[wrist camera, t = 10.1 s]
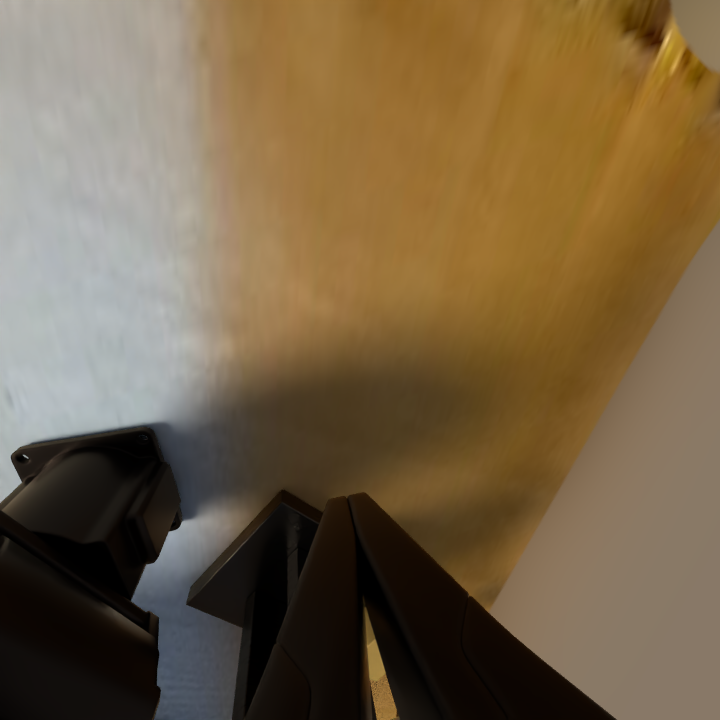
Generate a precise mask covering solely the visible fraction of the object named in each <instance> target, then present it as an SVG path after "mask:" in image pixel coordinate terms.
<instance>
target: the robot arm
mask: <svg viewBox="0 0 720 720" xmlns="http://www.w3.org/2000/svg"><path fill="white" fill-rule="evenodd" d="M140 435H144V436H146V437H147V438H148V439H147V440H144V439H142V438H141V437H140ZM23 455H26V456H27V457H28V458H29V459H27V458H25V457H24V456H23ZM11 461H12V463H13V465H14V467H15V469H16V471H17V473H18V475H19V477H20V479H21V481H22V483H21V484H20V485H19V486H18V487H17V488H16V489H15V490H14V491H13V492H12V493H11V494H10V495H9V496H7V497H6V498H5V499H4V500H3V501H2V502H1V503H0V720H154V717H155V714H156V711H157V708H158V705H159V702H160V694H161V689H160V687H159V686H157V668H158V660H159V650H158V632H159V617H158V616H156V615H155V614H153V613H152V612H151V611H147V612H145V611H144V610H142V609H141V608H140V607H138V606H137V605H135V604H134V603H132V602H131V599H132V597H133V595H134V592H135V590H136V588H137V585H138V583H139V581H140V578H141V576H142V574H143V571H144V569H145V567H146V564H151V563H154V562H155V561H156V560H157V558H158V557H159V555H160V552H161V550H162V547H163V545H164V542H165V540H166V537H167V535H168V532H169V531H173V530H176V529H178V528H179V527H180V525H181V522H182V520H183V519H182V514H181V511H180V508H179V505H180V502H181V498H180V495H179V492H178V489H177V486H176V483H175V480H174V477H173V473H172V470H171V467H170V465H169V464H168V463H167V462H165V461H164V459H163V456H162V453H161V450H160V447H159V443H158V440H157V437H156V434H155V432H154V431H153V430H152V429H151V428H148V427H139V428H132V429H126V430H120V431H114V432H107V433H101V434H95V435H89V436H82V437H76V438H70V439H64V440H57V441H51V442H45V443H39V444H32V445H26V446H22V447H20V448H19V449H17V450H16V451H15V452H14V453H13V454H12V455H11ZM173 520H174V521H175V522H173ZM363 596H364V599H363ZM364 601H365V605H366V609H367V612H368V616H369V619H370V623H371V626H372V629H373V633H374V636H375V639H376V643H377V646H378V649H379V652H380V656H381V659H382V662H383V666H384V669H385V672H386V676H387V679H388V682H389V685H390V689H391V692H392V695H393V699H394V702H395V705H396V709H397V712H398V715H399V718H400V720H616V719H615V718H614V717H613V716H612V715H610V714H609V713H608V712H607V711H605V710H604V709H603V708H602V707H600V706H599V705H598V704H597V703H595V702H594V701H593V700H592V699H590V698H589V697H588V696H587V695H585V694H584V693H583V692H582V691H580V690H579V689H578V688H576V687H575V686H574V685H573V684H572V683H570V682H569V681H568V680H567V679H565V678H564V677H563V676H562V675H560V674H559V673H558V672H557V671H556V670H554V669H553V668H552V667H551V666H549V665H548V664H547V663H546V662H544V661H543V660H542V659H541V658H539V657H538V656H537V655H536V654H535V653H533V652H532V651H531V650H530V649H529V648H527V647H526V646H525V645H524V644H523V643H521V642H520V641H519V640H518V639H517V638H516V637H514V636H513V635H512V634H511V633H510V632H509V631H508V630H507V629H505V628H504V627H503V626H502V625H501V624H500V623H499V622H498V621H497V620H496V619H495V618H494V617H493V616H491V615H490V614H489V613H488V612H487V611H486V610H485V609H484V608H483V607H482V606H481V605H480V604H479V603H478V602H477V601H476V600H475V599H474V598H473V597H472V596H469V594H468V592H467V591H466V590H465V589H464V588H462V587H461V586H460V585H459V584H458V583H457V582H456V581H455V580H454V579H453V578H452V577H451V576H450V575H449V574H448V573H447V572H446V571H445V570H444V569H443V568H442V567H441V566H440V565H439V564H438V563H437V562H436V561H435V560H434V559H433V558H432V557H431V556H430V555H429V554H428V553H427V552H426V551H425V550H424V549H423V548H422V547H421V546H420V545H419V544H417V543H416V542H415V541H414V540H413V539H412V538H411V537H410V536H409V535H408V534H407V533H406V532H405V531H404V530H403V529H402V528H401V527H400V526H399V525H398V524H397V523H396V522H395V521H394V520H393V519H392V518H391V517H390V516H389V515H388V514H387V513H386V512H385V511H384V510H383V509H382V508H381V507H380V506H379V505H378V504H377V503H376V502H375V501H374V500H372V499H371V498H370V497H369V496H368V495H367V494H366V493H364V492H362V493H357V494H352V495H349V496H348V499H347V497H345V496H342V497H336V498H331V499H329V500H328V502H327V505H326V508H325V510H324V513H323V516H322V518H321V521H320V524H319V526H318V529H317V532H316V534H315V537H314V540H313V542H312V545H311V548H310V551H309V553H308V556H307V559H306V561H305V564H304V567H303V569H302V572H301V575H300V577H299V580H298V583H297V585H296V588H295V591H294V593H293V596H292V599H291V602H290V604H289V607H288V610H287V612H286V615H285V618H284V620H283V623H282V626H281V628H280V631H279V634H278V636H277V639H276V643H277V644H275V645H274V647H273V649H272V652H271V655H270V657H269V660H268V663H267V665H266V668H265V671H264V673H263V676H262V678H261V681H260V683H259V685H258V688H257V690H256V693H255V695H254V698H253V700H252V703H251V705H250V707H249V709H248V712H247V714H246V716H245V718H244V720H372V707H371V693H370V678H369V663H368V649H367V634H366V619H365V608H364Z"/></svg>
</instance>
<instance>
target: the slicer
mask: <svg viewBox="0 0 720 720" xmlns="http://www.w3.org/2000/svg"><path fill="white" fill-rule="evenodd" d="M322 516H323V513H322V512H320V511H318V510H317V509H315V508H313V507H312V506H310V505H308V504H307V503H305V502H303V501H302V500H300V499H298V498H297V497H295V496H293V495H292V494H290V493H288V492H287V491H285V490H283V489H282V490H281V491H280V492H279V493H278V494H277V495H276V496H275V497H274V499H273V500H272V501H271V502H270V503H269V504H268V505H267V506H266V507H265V508H264V509H263V510H262V511H261V512H260V514H259V515H258V516H257V517H256V518H255V519H254V520H253V521H252V522H251V523H250V524H249V525H248V526H247V527H246V529H245V530H244V531H243V532H242V533H241V534H240V535H239V536H238V537H237V538H236V539H235V540H234V541H233V542H232V544H231V545H230V546H229V547H228V548H227V549H226V550H225V551H224V552H223V553H222V554H221V555H220V556H219V557H218V558H217V560H216V561H215V562H214V563H213V564H212V565H211V566H210V567H209V568H208V569H207V570H206V571H205V572H204V573H203V575H202V576H201V577H200V578H199V579H198V580H197V581H196V582H195V583H194V584H193V585H192V586H191V588H190V592H189V595H188V599H187V602H186V605H188V606H191V607H193V608H195V609H198V610H200V611H203V612H205V613H208V614H210V615H212V616H215V617H217V618H220V619H222V620H225V621H227V622H229V623H232V624H234V625H237V626H239V627H242V628H243V629H242V638H241V646H240V655H239V663H238V672H237V680H236V689H235V697H234V706H233V714H232V720H244V718H245V716H246V714H247V712H248V709H249V707H250V705H251V703H252V700H253V698H254V695H255V693H256V690H257V688H258V685H259V683H260V681H261V678H262V676H263V673H264V671H265V668H266V665H267V663H268V660H269V657H270V655H271V652H272V649H273V647H274V645H275V644H277V643H276V639H277V636H278V634H279V631H280V628H281V626H282V623H283V620H284V618H285V615H286V612H287V610H288V607H289V604H290V602H291V599H292V596H293V593H294V591H295V588H296V585H297V583H298V580H299V577H300V575H301V572H302V569H303V567H304V564H305V561H306V559H307V556H308V553H309V551H310V548H311V545H312V542H313V540H314V537H315V534H316V532H317V529H318V526H319V524H320V521H321V518H322ZM363 599H364V596H363ZM365 607H366V605H365V601H364V608H365ZM370 693H371V707H372V720H377V718H376V713H375V707H374V702H373V696H372V690H371V685H370Z"/></svg>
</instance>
